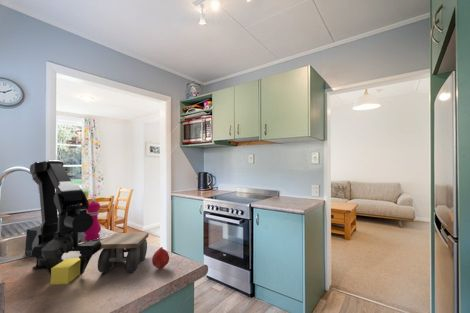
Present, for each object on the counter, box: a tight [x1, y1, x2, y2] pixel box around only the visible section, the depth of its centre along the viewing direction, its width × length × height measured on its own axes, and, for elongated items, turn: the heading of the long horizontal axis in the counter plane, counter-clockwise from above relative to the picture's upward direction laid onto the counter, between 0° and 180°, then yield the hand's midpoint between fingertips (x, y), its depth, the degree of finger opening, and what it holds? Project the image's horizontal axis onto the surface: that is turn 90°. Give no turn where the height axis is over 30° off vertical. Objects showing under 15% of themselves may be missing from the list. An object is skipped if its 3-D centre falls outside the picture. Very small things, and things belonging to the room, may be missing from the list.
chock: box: [50, 257, 81, 285], centre depth 71 cm, size 5×7×5 cm
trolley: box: [97, 232, 149, 273], centre depth 80 cm, size 13×16×10 cm
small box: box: [24, 225, 41, 256], centre depth 93 cm, size 11×6×10 cm, turn 168°
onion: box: [151, 246, 170, 271], centre depth 78 cm, size 6×6×8 cm
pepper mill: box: [83, 198, 102, 242], centre depth 108 cm, size 7×7×20 cm
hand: (67, 274), depth 71 cm, fingers open, 9 cm apart
